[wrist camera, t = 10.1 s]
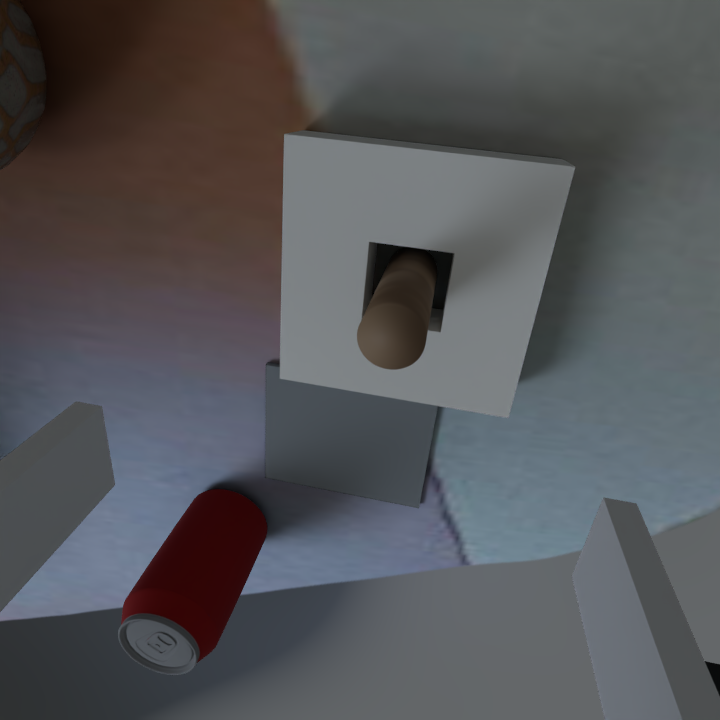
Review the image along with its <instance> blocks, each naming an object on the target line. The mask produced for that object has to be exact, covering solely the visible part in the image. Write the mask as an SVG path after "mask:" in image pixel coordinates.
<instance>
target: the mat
mask: <svg viewBox="0 0 720 720" xmlns="http://www.w3.org/2000/svg"><path fill="white" fill-rule="evenodd" d="M437 409H438V406H435V405H429V404H424V403H418V402H412V401H406V400H400V399H395V398H389V397H383V396H377V395H371V394H366V393H360V392H354V391H348V390H343V389H337V388H331V387H325V386H319V385H314V384H308V383H302V382H296V381H290V380H285V379H280V364H275V363H269V362H268V363H267V364H266V444H265V478H268V479H274V480H279V481H284V482H289V483H294V484H299V485H304V486H309V487H314V488H319V489H324V490H329V491H334V492H339V493H344V494H349V495H355V496H360V497H365V498H370V499H375V500H380V501H385V502H390V503H395V504H400V505H405V506H410V507H415V508H419V505H420V499H421V494H422V489H423V483H424V478H425V473H426V467H427V462H428V457H429V451H430V446H431V441H432V435H433V430H434V425H435V419H436V414H437Z"/></svg>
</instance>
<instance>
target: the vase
mask: <svg viewBox="0 0 720 720" xmlns="http://www.w3.org/2000/svg"><path fill="white" fill-rule="evenodd" d="M46 94H47V76H46V67H45V61H44V57H43V52H42V49H41V45H40V42H39V39H38V36H37V33H36V31H35V29H34V26H33V24H32V22H31V20H30V17H29V15H28V14H27V12H26V10H25V8H24V6H23V5H22V3H21V1H20V0H0V170H1V169H3V168H4V167H6V166H7V165H9V164H10V163H11V162H12V161H13V160H14V159H15V158H16V157H17V156H18V155H19V154H20V153H21V152H22V151H23V150H24V149H25V148H26V147H27V145H28V144H29V143H30V141H31V139H32V138H33V136H34V134H35V132H36V130H37V128H38V126H39V124H40V121H41V118H42V116H43V112H44V108H45V103H46Z"/></svg>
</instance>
